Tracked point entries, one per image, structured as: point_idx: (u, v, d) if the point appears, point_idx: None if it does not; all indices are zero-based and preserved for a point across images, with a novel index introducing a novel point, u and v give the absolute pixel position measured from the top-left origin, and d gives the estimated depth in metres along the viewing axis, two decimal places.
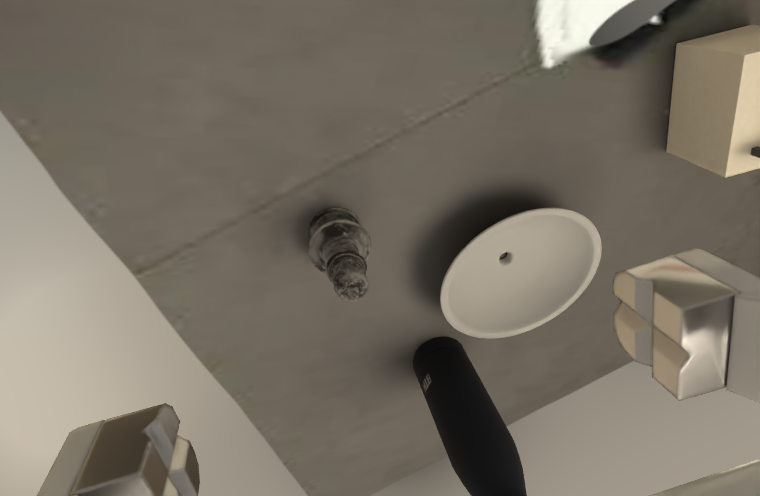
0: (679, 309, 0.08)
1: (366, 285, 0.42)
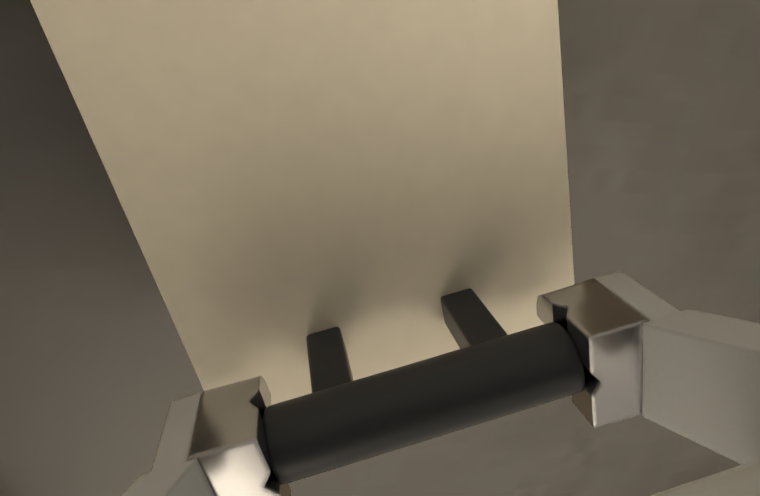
0: (587, 337, 0.08)
1: None
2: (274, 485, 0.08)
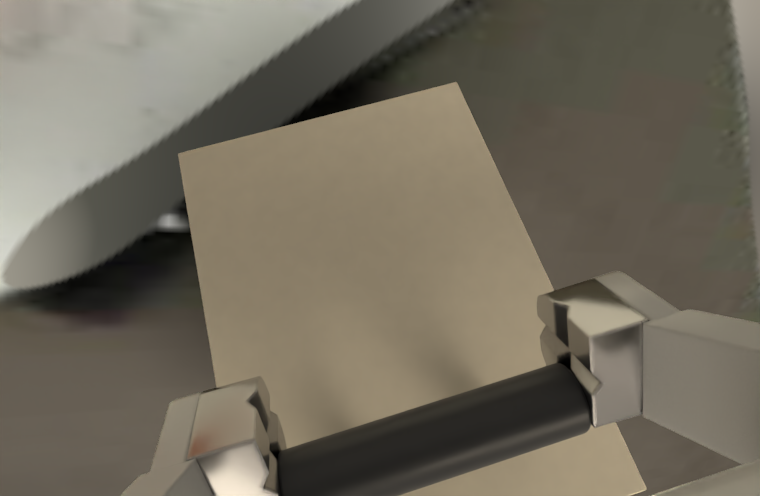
0: (587, 337, 0.08)
1: None
2: (272, 485, 0.08)
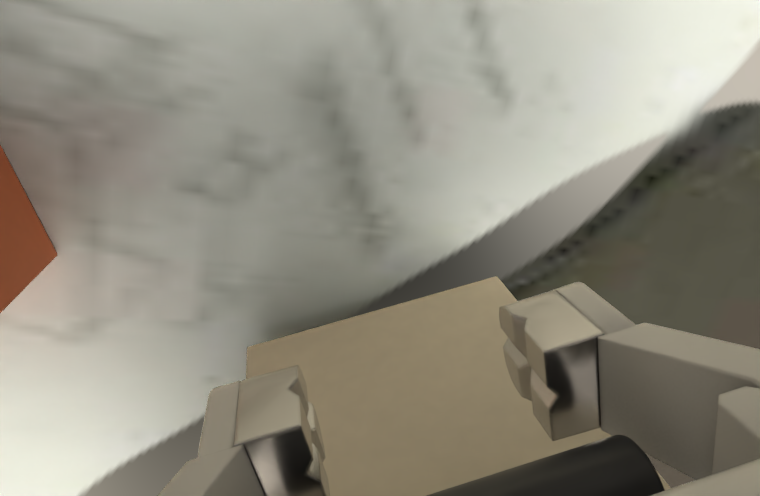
0: (541, 351, 0.08)
1: None
2: (315, 472, 0.08)
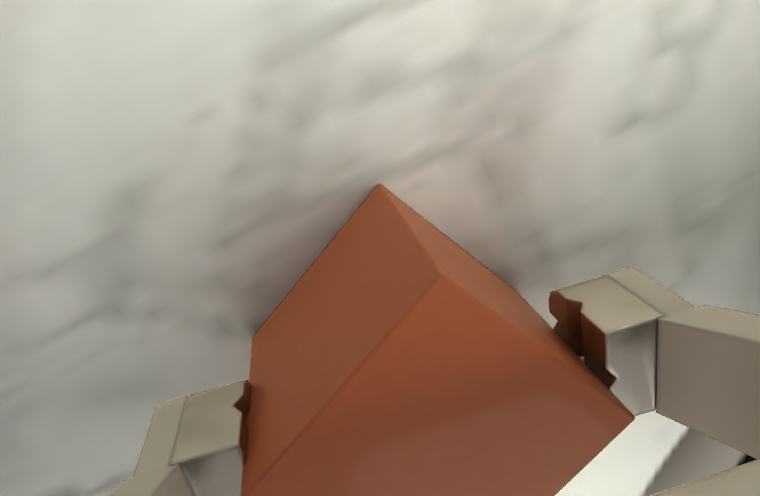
0: (602, 332, 0.08)
1: None
2: None
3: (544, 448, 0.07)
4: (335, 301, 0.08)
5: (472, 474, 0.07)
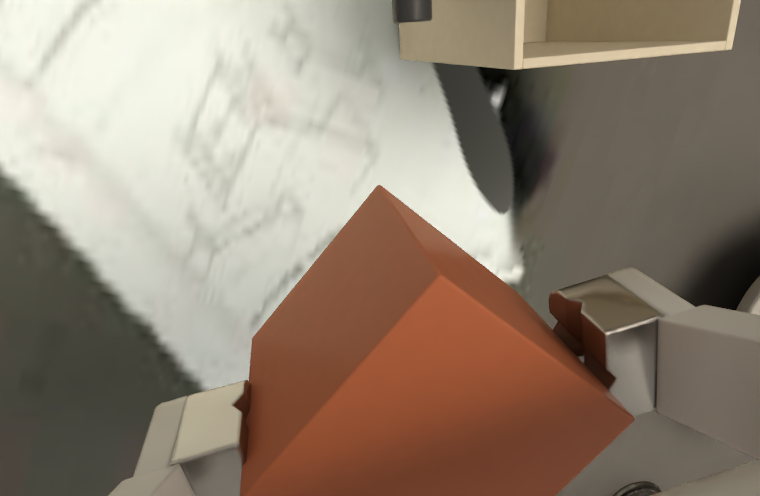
0: (601, 332, 0.08)
1: None
2: None
3: (543, 449, 0.07)
4: (334, 302, 0.08)
5: (471, 476, 0.07)
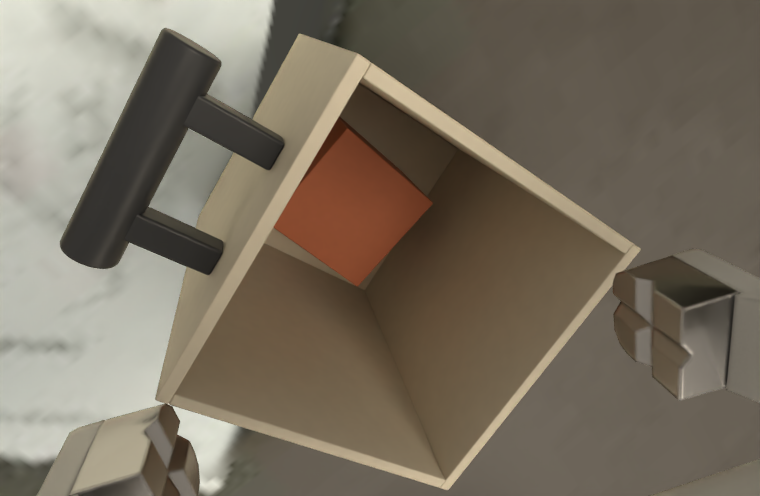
0: (678, 309, 0.08)
1: None
2: None
3: (394, 213, 0.17)
4: None
5: (363, 223, 0.17)
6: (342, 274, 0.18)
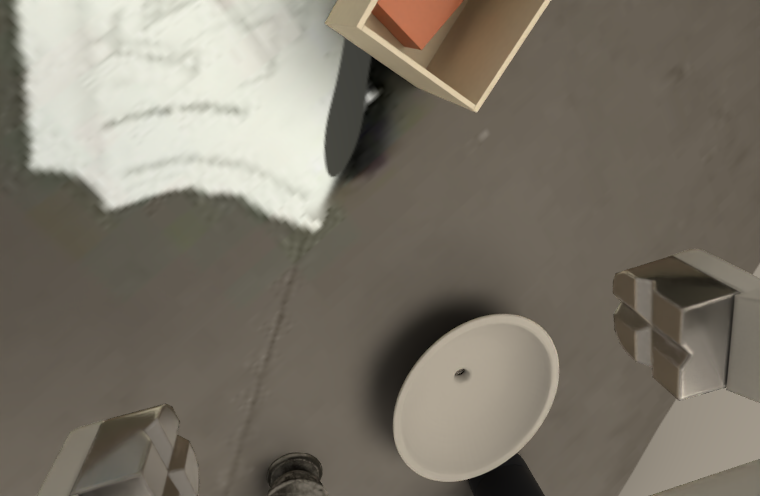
0: (679, 309, 0.08)
1: None
2: None
3: (443, 3, 0.32)
4: None
5: (426, 8, 0.32)
6: (414, 40, 0.32)
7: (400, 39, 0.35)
